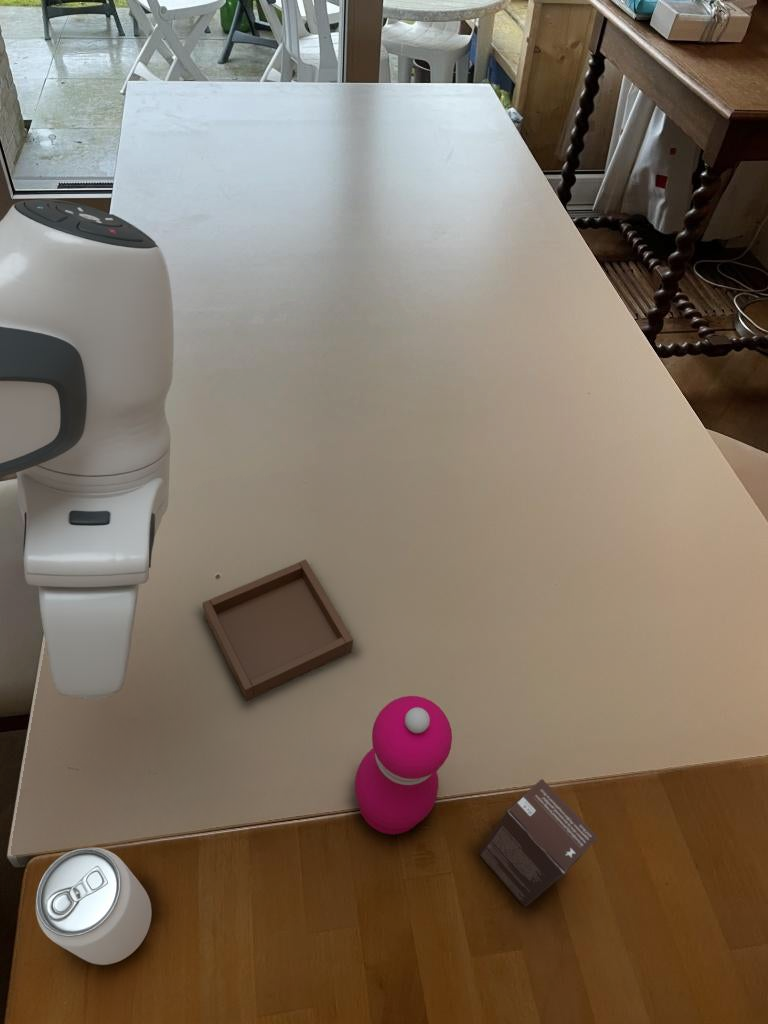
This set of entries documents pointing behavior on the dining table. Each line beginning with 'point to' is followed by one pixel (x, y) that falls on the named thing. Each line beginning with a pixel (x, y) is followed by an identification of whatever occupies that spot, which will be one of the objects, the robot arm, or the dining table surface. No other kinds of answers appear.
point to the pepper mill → (403, 764)
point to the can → (93, 906)
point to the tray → (277, 628)
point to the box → (535, 843)
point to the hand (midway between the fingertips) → (99, 642)
